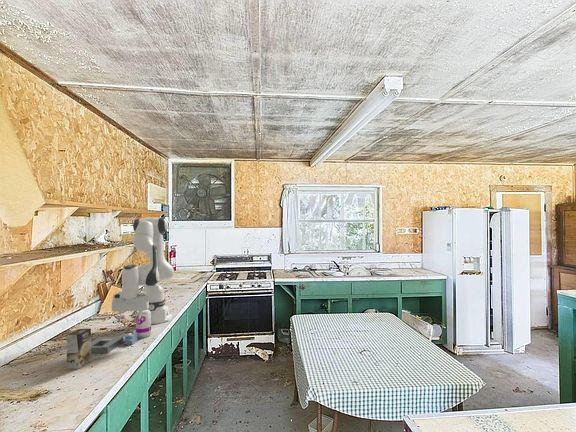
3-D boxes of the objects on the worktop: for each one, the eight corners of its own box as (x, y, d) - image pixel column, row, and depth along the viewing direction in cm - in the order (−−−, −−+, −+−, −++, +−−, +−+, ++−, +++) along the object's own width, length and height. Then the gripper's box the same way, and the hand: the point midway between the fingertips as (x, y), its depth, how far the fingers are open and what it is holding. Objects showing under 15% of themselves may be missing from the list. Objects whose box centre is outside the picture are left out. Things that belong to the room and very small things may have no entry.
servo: (131, 339, 196) (131, 330, 196) (138, 339, 196) (138, 329, 196) (123, 345, 186) (123, 335, 187) (130, 345, 186) (130, 335, 186)
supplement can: (145, 338, 197) (145, 312, 197) (133, 337, 199) (132, 312, 199) (153, 333, 205) (153, 309, 205) (141, 333, 207) (141, 308, 207)
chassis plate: (99, 342, 192) (99, 336, 193) (123, 342, 192) (123, 336, 192) (81, 353, 176) (81, 347, 177) (107, 353, 176) (107, 347, 176)
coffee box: (79, 369, 158) (79, 334, 158) (66, 369, 158) (65, 334, 158) (91, 360, 167) (91, 328, 167) (79, 360, 167) (78, 328, 167)
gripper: (151, 292, 194) (151, 316, 194) (115, 293, 195) (116, 317, 194) (146, 294, 188) (146, 319, 187) (109, 295, 188) (110, 320, 188)
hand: (130, 318), depth 191 cm, fingers open, 8 cm apart
